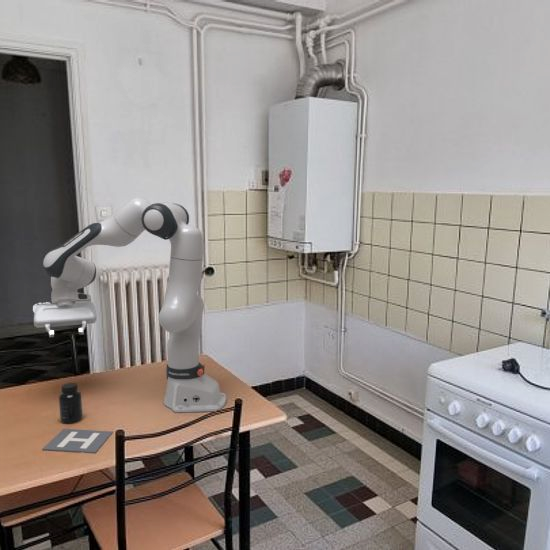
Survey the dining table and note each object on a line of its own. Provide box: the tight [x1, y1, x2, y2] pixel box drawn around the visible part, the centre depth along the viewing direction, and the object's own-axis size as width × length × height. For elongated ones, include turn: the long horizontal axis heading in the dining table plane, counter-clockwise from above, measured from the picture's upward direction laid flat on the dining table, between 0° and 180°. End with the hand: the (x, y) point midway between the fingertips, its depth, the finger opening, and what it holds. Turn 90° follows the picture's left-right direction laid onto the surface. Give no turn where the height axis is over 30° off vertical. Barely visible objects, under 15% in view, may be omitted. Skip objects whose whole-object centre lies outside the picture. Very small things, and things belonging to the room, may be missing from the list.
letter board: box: [41, 428, 114, 454], centre depth 142 cm, size 16×12×1 cm
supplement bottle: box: [58, 382, 84, 425], centre depth 155 cm, size 7×7×12 cm
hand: (66, 335), depth 162 cm, fingers open, 8 cm apart
